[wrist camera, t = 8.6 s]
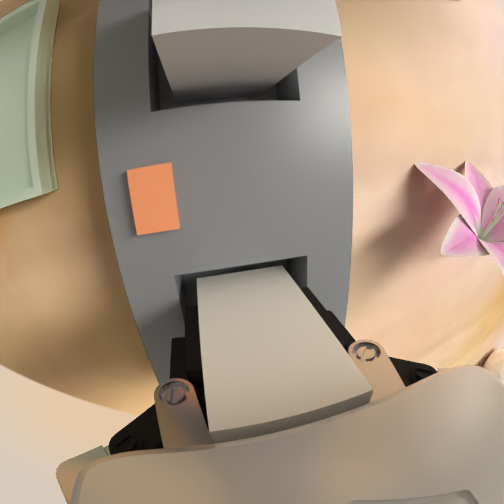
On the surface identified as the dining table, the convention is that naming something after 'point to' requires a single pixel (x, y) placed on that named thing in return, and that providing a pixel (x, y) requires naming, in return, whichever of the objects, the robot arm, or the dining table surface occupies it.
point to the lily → (471, 212)
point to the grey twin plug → (238, 43)
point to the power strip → (218, 178)
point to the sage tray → (26, 102)
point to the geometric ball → (496, 364)
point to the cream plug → (270, 357)
